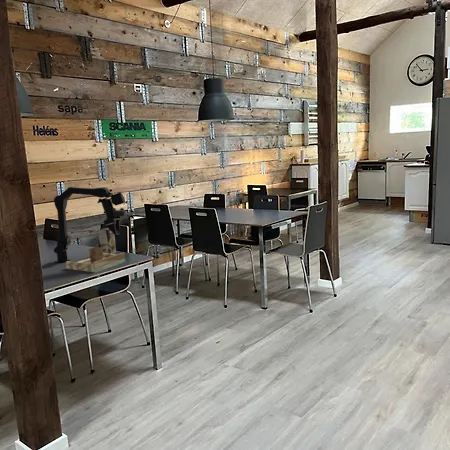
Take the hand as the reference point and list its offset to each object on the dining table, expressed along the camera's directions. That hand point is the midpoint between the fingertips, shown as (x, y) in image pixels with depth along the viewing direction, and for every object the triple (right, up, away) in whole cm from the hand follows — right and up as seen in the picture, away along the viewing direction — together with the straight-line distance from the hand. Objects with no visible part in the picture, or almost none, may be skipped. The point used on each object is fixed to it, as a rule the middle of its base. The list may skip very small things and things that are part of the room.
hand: (117, 232), depth 269 cm
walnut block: (-9, -16, -12) cm, 22 cm away
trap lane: (-10, -18, -11) cm, 23 cm away
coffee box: (-9, -14, +16) cm, 23 cm away
